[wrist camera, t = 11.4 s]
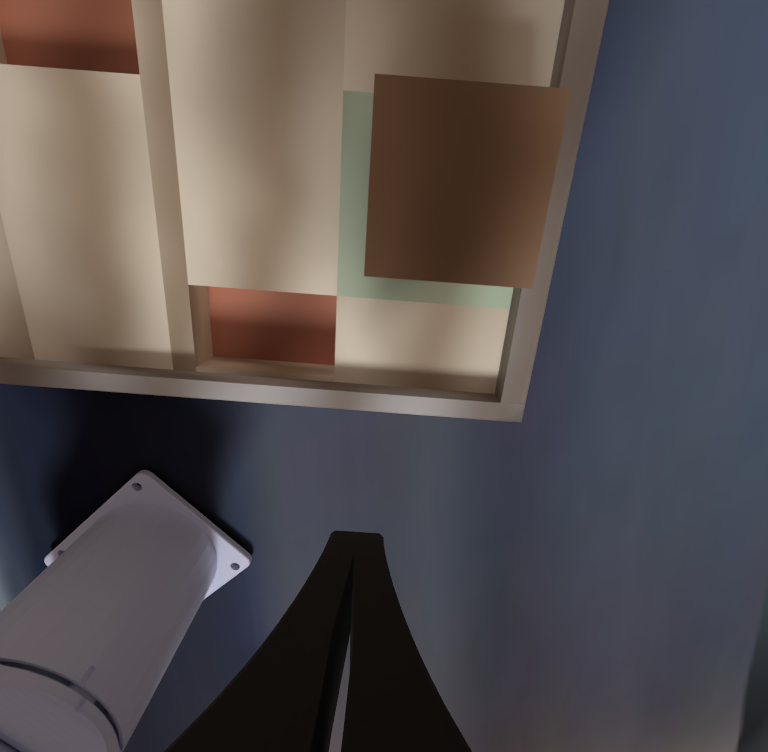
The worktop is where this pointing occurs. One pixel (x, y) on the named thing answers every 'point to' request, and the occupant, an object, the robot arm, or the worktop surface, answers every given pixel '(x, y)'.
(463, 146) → the walnut block
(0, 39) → the board
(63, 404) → the worktop surface
